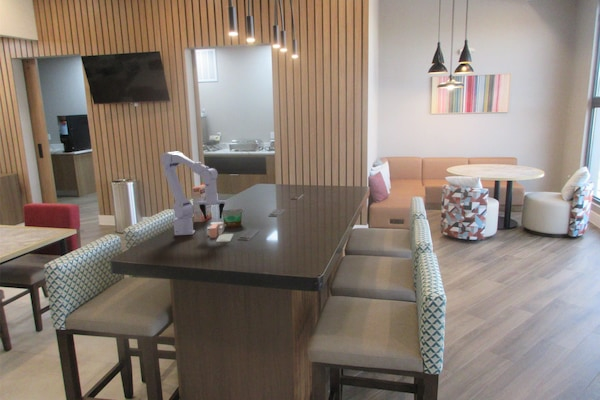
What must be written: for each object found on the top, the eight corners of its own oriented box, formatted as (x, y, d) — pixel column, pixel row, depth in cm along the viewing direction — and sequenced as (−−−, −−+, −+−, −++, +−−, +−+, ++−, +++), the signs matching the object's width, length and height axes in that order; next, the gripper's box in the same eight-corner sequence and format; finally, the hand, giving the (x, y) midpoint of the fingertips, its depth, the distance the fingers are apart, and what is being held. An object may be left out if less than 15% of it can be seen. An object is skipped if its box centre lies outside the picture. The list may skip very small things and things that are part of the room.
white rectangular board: (216, 242, 210) (215, 241, 210) (219, 235, 223) (219, 234, 223) (230, 241, 210) (230, 240, 210) (233, 234, 223) (233, 233, 223)
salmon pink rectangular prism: (209, 238, 219) (209, 228, 218) (213, 232, 229) (212, 223, 228) (216, 237, 219) (215, 228, 218) (219, 232, 229) (218, 223, 228)
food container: (222, 229, 235) (221, 211, 234) (221, 226, 241) (220, 209, 239) (245, 226, 239) (244, 209, 237) (243, 224, 244) (242, 207, 243)
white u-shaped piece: (207, 235, 223) (207, 228, 222) (211, 229, 236) (211, 222, 235) (221, 235, 223) (220, 227, 222) (224, 228, 236) (224, 221, 235)
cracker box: (203, 222, 253) (200, 187, 249) (193, 222, 254) (190, 187, 250) (212, 217, 266) (210, 184, 262) (203, 217, 267) (201, 184, 264)
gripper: (195, 194, 213) (197, 221, 215) (224, 193, 214) (226, 219, 216) (197, 192, 220) (199, 217, 222) (226, 190, 221) (227, 216, 223)
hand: (213, 218), depth 220 cm, fingers open, 7 cm apart
